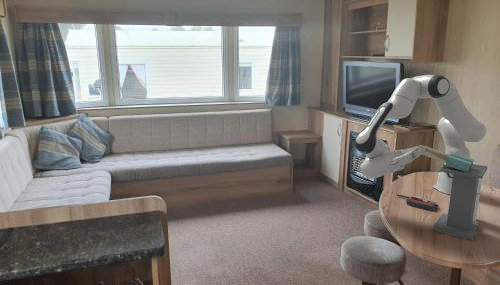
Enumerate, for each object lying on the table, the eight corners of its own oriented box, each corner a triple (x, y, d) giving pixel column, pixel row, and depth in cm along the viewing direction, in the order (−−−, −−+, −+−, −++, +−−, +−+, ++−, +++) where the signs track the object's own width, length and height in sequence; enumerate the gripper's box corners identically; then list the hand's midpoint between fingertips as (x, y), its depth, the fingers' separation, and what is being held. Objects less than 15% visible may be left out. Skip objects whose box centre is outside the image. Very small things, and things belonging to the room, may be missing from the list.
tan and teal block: (419, 150, 160) (422, 142, 159) (470, 167, 149) (474, 159, 148) (414, 153, 154) (417, 146, 153) (467, 172, 143) (470, 164, 142)
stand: (441, 217, 165) (449, 160, 160) (478, 226, 157) (487, 166, 151) (433, 230, 153) (440, 169, 147) (472, 240, 145) (482, 176, 139)
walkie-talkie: (439, 207, 178) (397, 196, 191) (441, 198, 177) (398, 188, 190) (434, 212, 172) (390, 201, 184) (435, 203, 171) (391, 193, 183)
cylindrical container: (469, 223, 160) (477, 166, 154) (453, 216, 166) (461, 162, 161) (479, 220, 163) (488, 164, 158) (463, 214, 169) (471, 160, 164)
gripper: (384, 158, 155) (417, 146, 147) (400, 149, 171) (430, 138, 162) (391, 172, 155) (424, 161, 146) (406, 162, 170) (436, 151, 162)
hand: (427, 149), depth 154 cm, fingers closed on tan and teal block, 3 cm apart
